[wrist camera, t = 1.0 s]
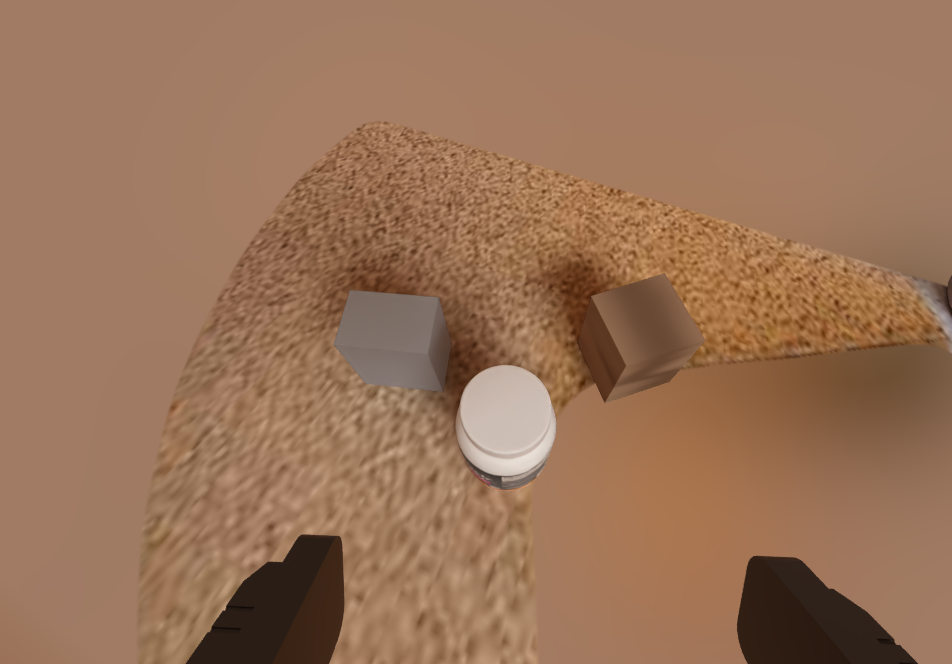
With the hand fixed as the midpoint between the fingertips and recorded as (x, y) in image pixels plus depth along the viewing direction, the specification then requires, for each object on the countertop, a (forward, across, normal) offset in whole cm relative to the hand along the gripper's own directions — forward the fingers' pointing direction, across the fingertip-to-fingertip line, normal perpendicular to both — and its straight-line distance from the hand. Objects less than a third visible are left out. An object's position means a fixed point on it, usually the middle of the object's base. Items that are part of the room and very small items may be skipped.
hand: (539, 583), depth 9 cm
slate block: (+26, +7, +3) cm, 27 cm away
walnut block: (+25, -9, +2) cm, 27 cm away
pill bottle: (+22, 0, +8) cm, 23 cm away
